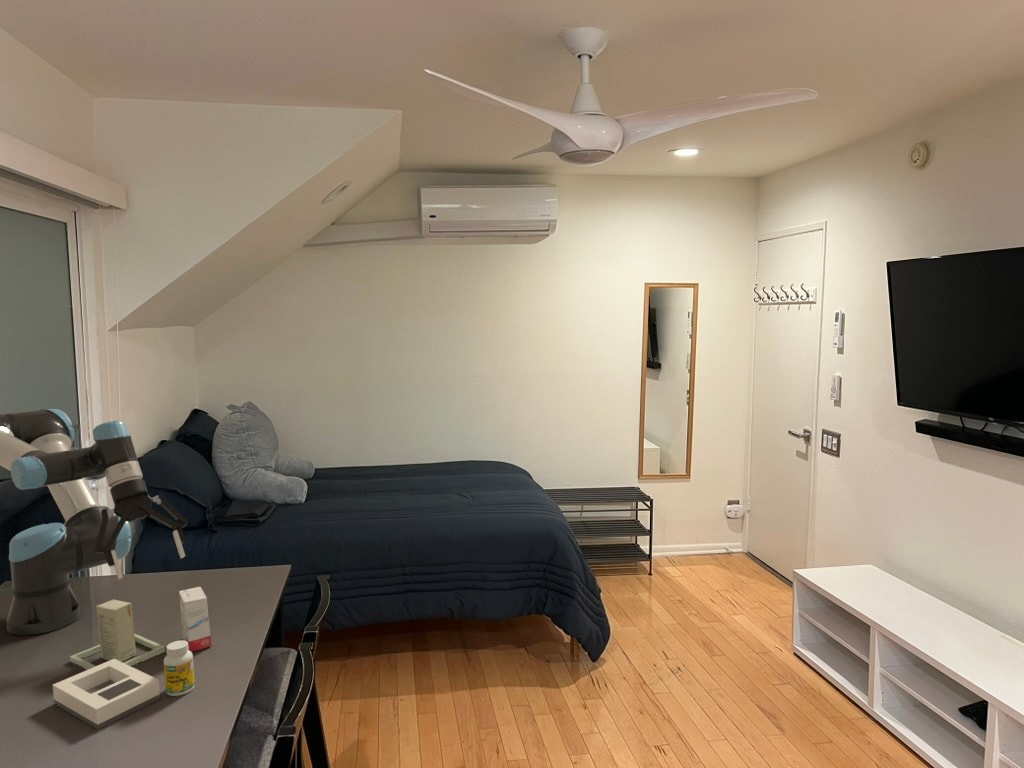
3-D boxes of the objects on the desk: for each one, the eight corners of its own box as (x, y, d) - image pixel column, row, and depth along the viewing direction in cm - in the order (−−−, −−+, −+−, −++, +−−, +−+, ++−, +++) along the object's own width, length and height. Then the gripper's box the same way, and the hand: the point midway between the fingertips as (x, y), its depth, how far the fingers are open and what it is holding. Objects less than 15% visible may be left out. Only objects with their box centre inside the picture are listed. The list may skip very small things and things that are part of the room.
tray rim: (70, 661, 156) (69, 656, 155) (131, 636, 167) (130, 631, 167) (103, 678, 148) (103, 673, 148) (165, 651, 160) (164, 646, 160)
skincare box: (137, 655, 158) (133, 602, 157) (119, 664, 154) (115, 610, 153) (117, 649, 161) (113, 597, 160) (99, 658, 157) (95, 605, 156)
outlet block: (54, 704, 139) (52, 684, 139) (115, 676, 149) (114, 658, 149) (98, 729, 131) (96, 709, 130) (159, 698, 141) (158, 679, 140)
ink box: (211, 647, 162) (208, 597, 160) (187, 653, 159) (184, 603, 157) (204, 633, 169) (201, 585, 167) (181, 638, 166) (178, 590, 165)
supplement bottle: (197, 681, 147) (194, 637, 146) (191, 695, 142) (189, 649, 141) (169, 684, 146) (166, 640, 145) (162, 698, 141) (159, 652, 140)
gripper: (67, 495, 160) (93, 585, 157) (183, 464, 175) (209, 546, 171) (67, 503, 166) (92, 589, 162) (179, 472, 181) (204, 551, 177)
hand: (152, 567), depth 167 cm, fingers open, 13 cm apart
